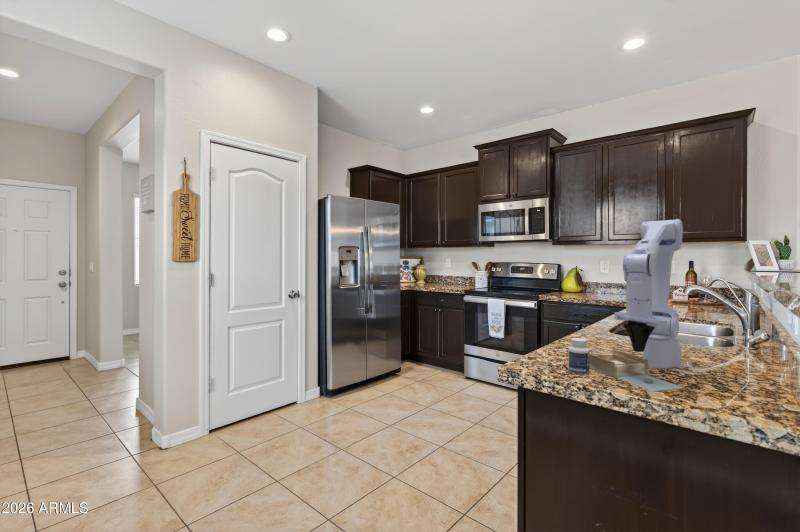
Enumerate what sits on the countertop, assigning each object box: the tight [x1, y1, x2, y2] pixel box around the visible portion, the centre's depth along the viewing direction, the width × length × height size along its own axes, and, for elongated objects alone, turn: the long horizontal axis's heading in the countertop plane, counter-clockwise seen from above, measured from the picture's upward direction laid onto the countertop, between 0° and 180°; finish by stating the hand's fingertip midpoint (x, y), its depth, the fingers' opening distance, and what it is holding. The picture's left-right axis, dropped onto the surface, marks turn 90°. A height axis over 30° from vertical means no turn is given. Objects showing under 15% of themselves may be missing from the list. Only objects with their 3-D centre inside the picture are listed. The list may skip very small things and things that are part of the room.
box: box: [590, 349, 649, 379], centre depth 109 cm, size 11×12×5 cm
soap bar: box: [612, 360, 625, 365], centre depth 109 cm, size 5×3×2 cm, turn 102°
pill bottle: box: [567, 337, 591, 375], centre depth 107 cm, size 5×5×10 cm
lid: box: [616, 374, 684, 392], centre depth 97 cm, size 9×11×2 cm
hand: (638, 351), depth 100 cm, fingers closed
